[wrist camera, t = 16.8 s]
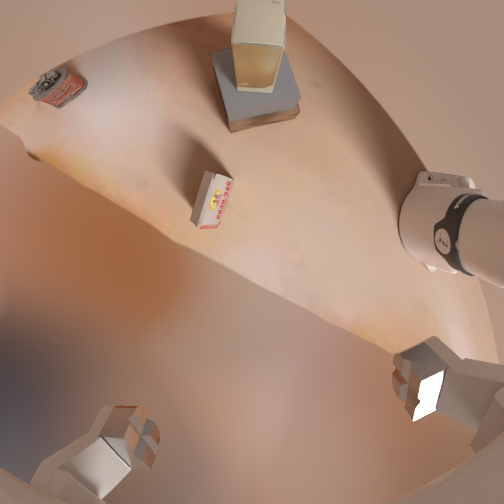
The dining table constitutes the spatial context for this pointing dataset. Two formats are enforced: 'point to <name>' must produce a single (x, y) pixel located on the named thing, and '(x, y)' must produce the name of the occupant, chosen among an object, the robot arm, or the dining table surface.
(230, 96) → the tower top block
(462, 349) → the dining table surface
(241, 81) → the skincare box
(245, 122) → the tower base block
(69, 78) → the lighter
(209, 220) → the white red printed carton
